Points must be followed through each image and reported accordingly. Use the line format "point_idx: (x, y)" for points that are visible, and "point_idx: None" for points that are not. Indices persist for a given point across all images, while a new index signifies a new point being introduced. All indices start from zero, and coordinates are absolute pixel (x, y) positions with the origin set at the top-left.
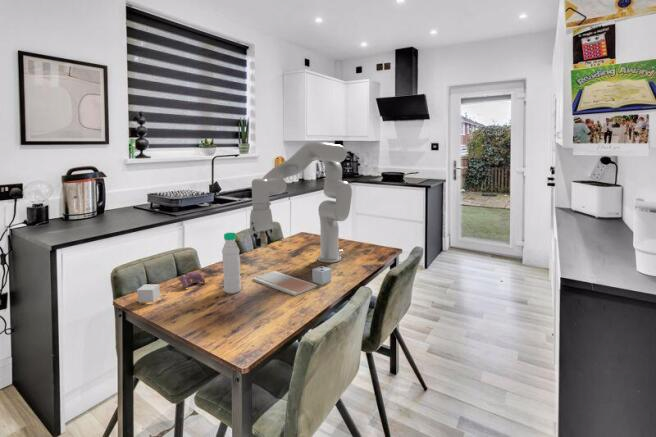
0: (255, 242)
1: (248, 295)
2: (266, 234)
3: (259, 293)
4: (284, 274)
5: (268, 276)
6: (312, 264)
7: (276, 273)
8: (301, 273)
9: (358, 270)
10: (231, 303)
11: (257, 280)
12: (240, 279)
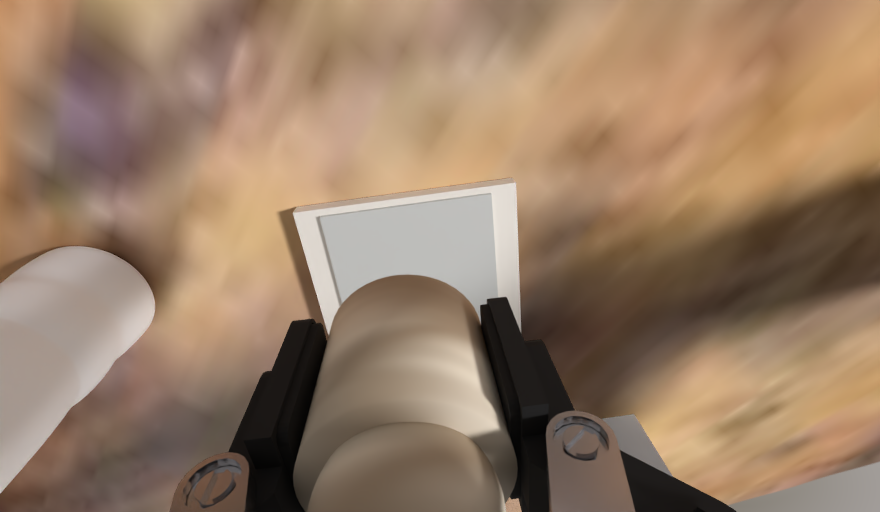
0: (254, 403)
1: (176, 393)
2: (539, 495)
3: (243, 402)
4: (516, 290)
5: (401, 267)
6: (833, 204)
7: (482, 251)
8: (628, 301)
9: (842, 433)
10: (59, 425)
11: (308, 262)
12: (104, 375)
